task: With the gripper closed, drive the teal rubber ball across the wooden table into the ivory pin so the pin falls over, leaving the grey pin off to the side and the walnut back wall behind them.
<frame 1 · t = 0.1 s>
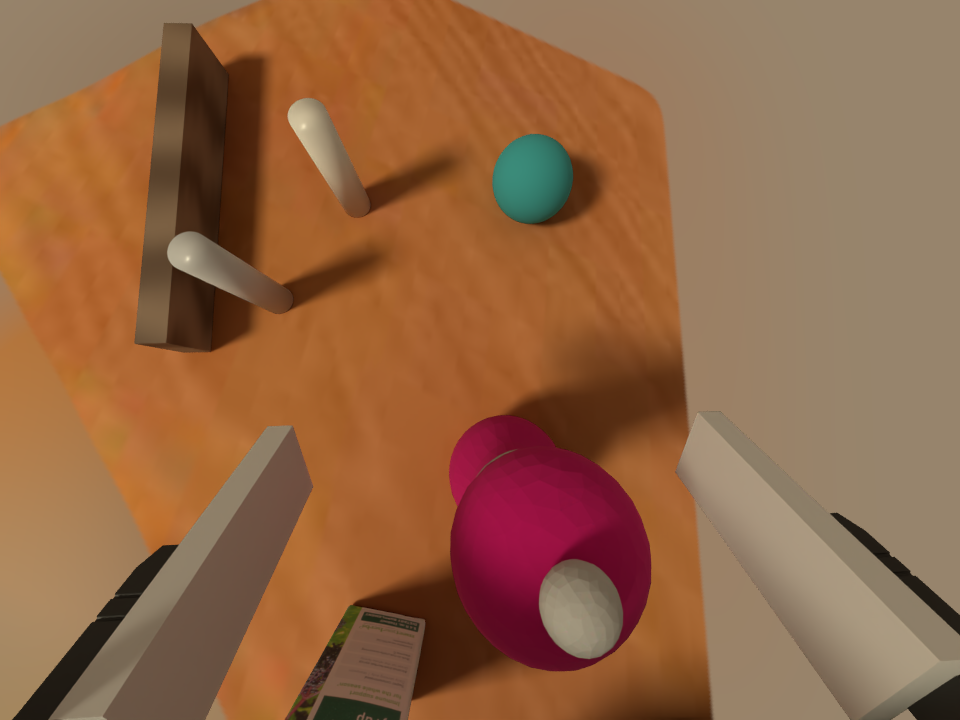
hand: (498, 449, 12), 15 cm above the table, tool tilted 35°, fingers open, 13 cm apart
grey pin: (279, 300, 27), on the table
ivory pin: (357, 204, 29), on the table
back wall: (207, 206, 28), on the table
pepper mill: (498, 460, 27), on the table
ball: (532, 181, 26), on the table
syrup box: (380, 651, 25), on the table
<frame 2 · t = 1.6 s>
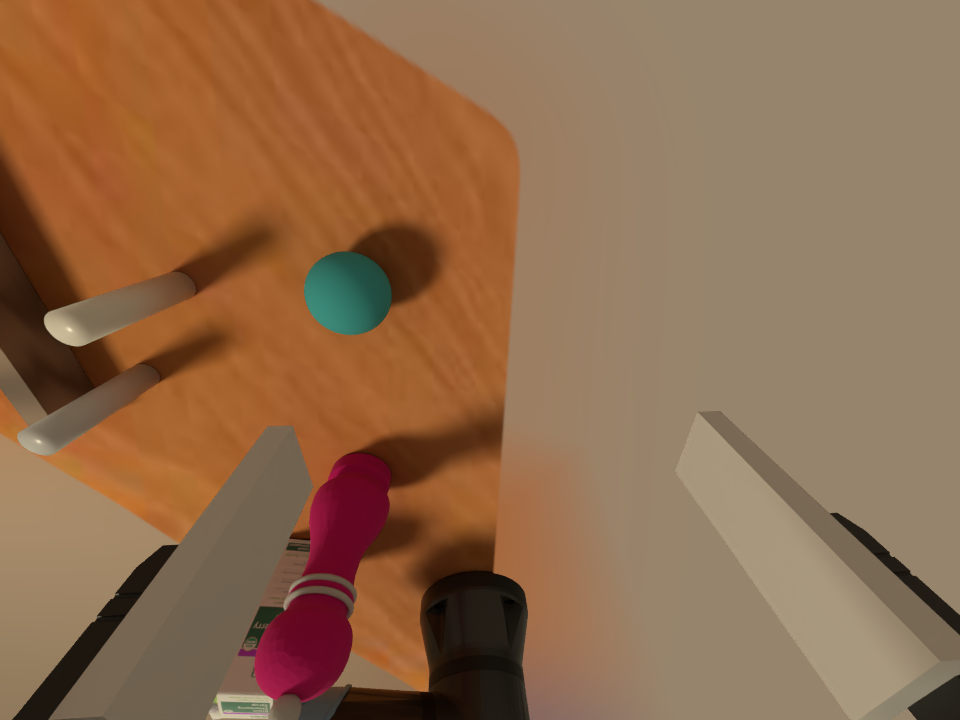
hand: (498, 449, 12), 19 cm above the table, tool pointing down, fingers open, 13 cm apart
grey pin: (146, 374, 31), on the table
ivory pin: (180, 285, 28), on the table
back wall: (19, 287, 27), on the table
pepper mill: (362, 472, 38), on the table
ball: (349, 294, 26), on the table
syrup box: (305, 551, 44), on the table
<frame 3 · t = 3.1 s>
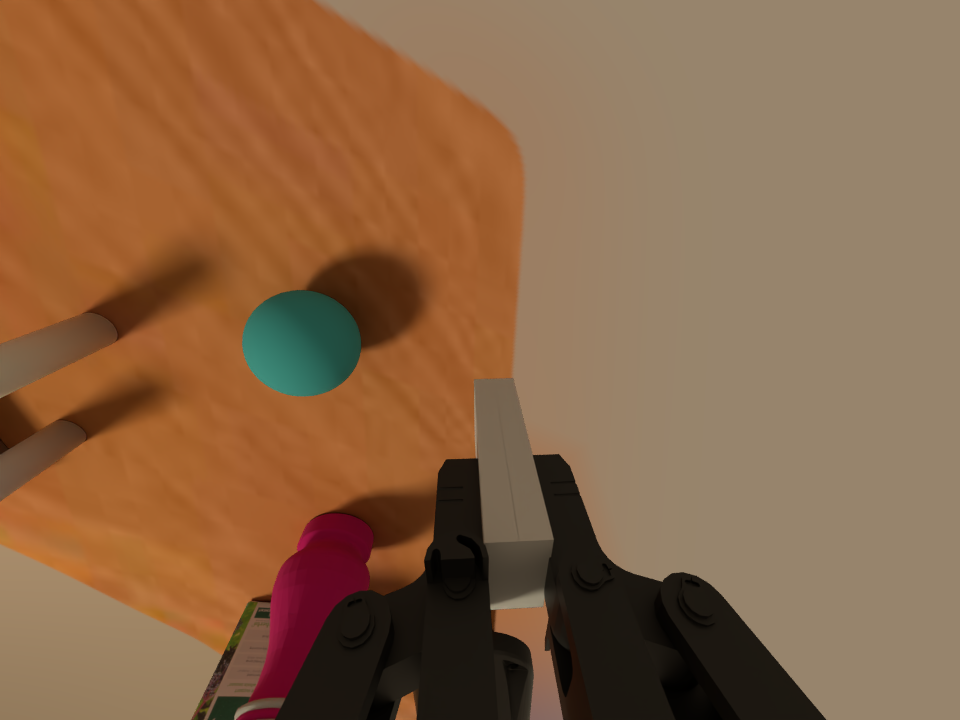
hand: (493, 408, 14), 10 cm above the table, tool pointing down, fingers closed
grey pin: (68, 432, 25), on the table
ivory pin: (97, 329, 22), on the table
pepper mill: (340, 532, 32), on the table
ball: (305, 343, 20), on the table
syrup box: (280, 613, 38), on the table
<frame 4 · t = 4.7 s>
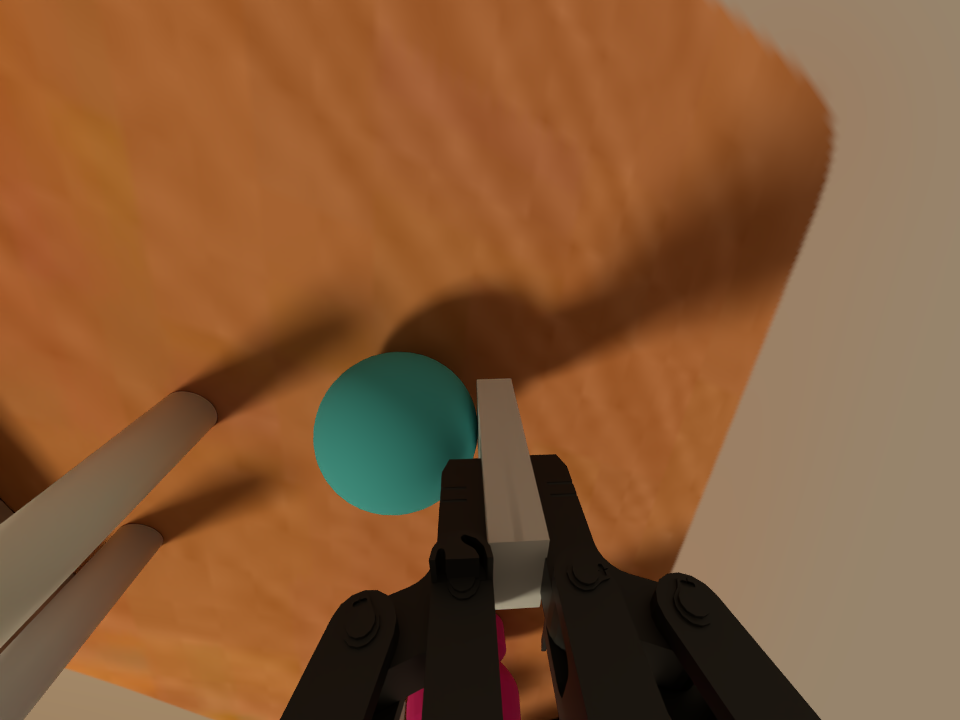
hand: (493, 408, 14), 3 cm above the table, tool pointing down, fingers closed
grey pin: (140, 537, 19), on the table
ivory pin: (190, 411, 16), on the table
pepper mill: (461, 624, 26), on the table
ball: (399, 429, 13), on the table, touching gripper
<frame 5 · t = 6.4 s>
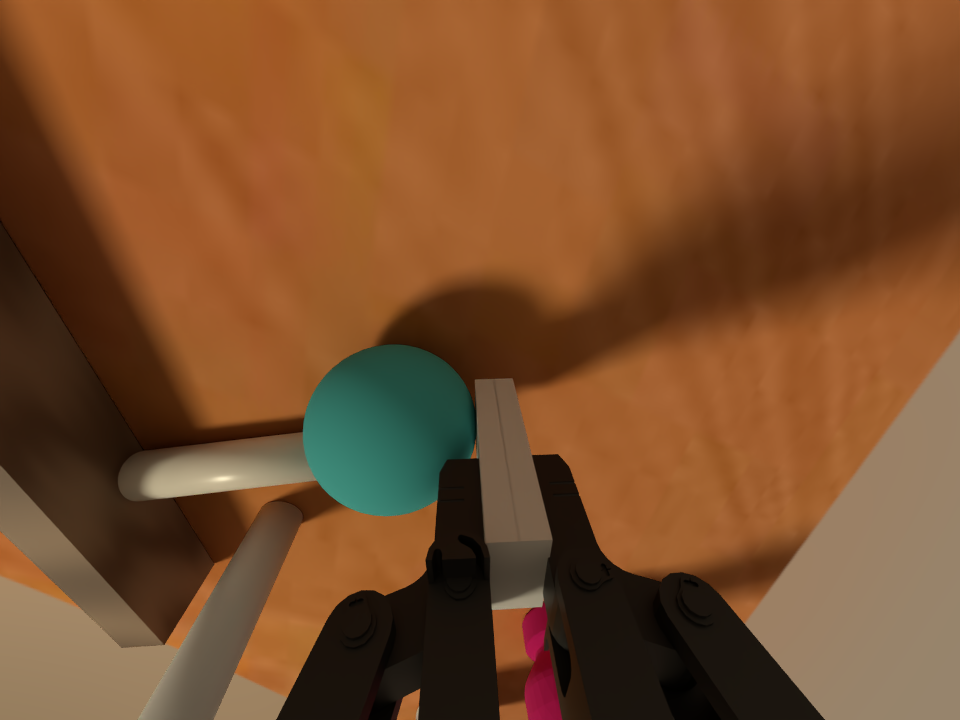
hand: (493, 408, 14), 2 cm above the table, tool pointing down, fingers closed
grey pin: (281, 515, 19), on the table
ivory pin: (339, 452, 16), point 1 cm above the table, tilted 90°
back wall: (85, 398, 15), on the table
pepper mill: (562, 615, 26), on the table
ball: (394, 426, 13), on the table, touching gripper
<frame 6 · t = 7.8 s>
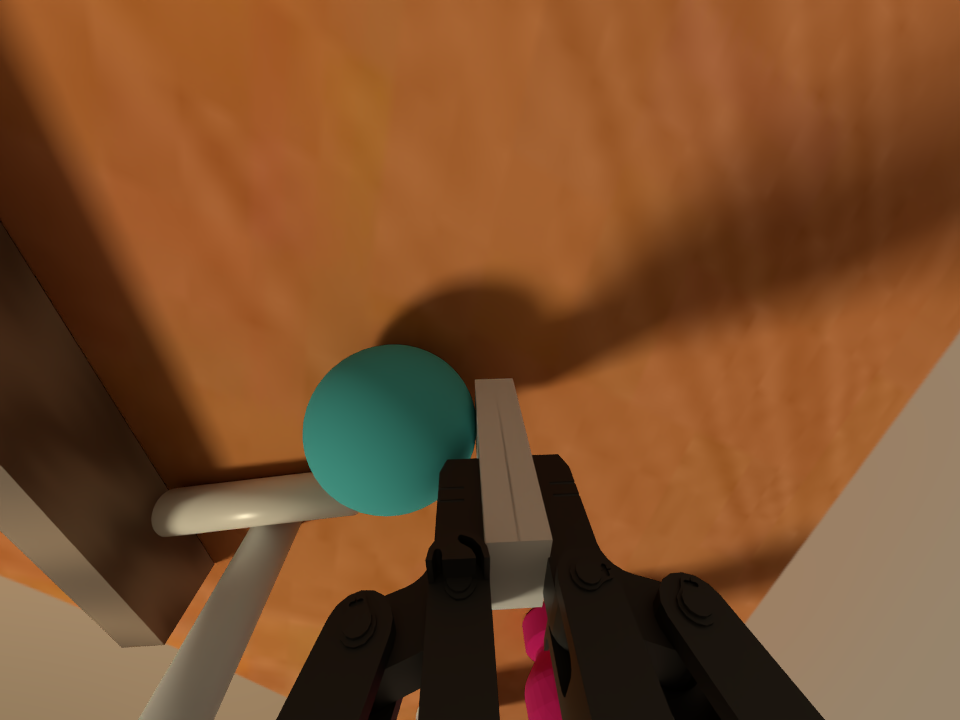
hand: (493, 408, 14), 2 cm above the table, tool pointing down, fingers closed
grey pin: (281, 515, 19), on the table
ivory pin: (355, 490, 17), point 1 cm above the table, tilted 90°
back wall: (85, 398, 15), on the table
pepper mill: (562, 615, 26), on the table
ball: (394, 426, 13), on the table, touching gripper
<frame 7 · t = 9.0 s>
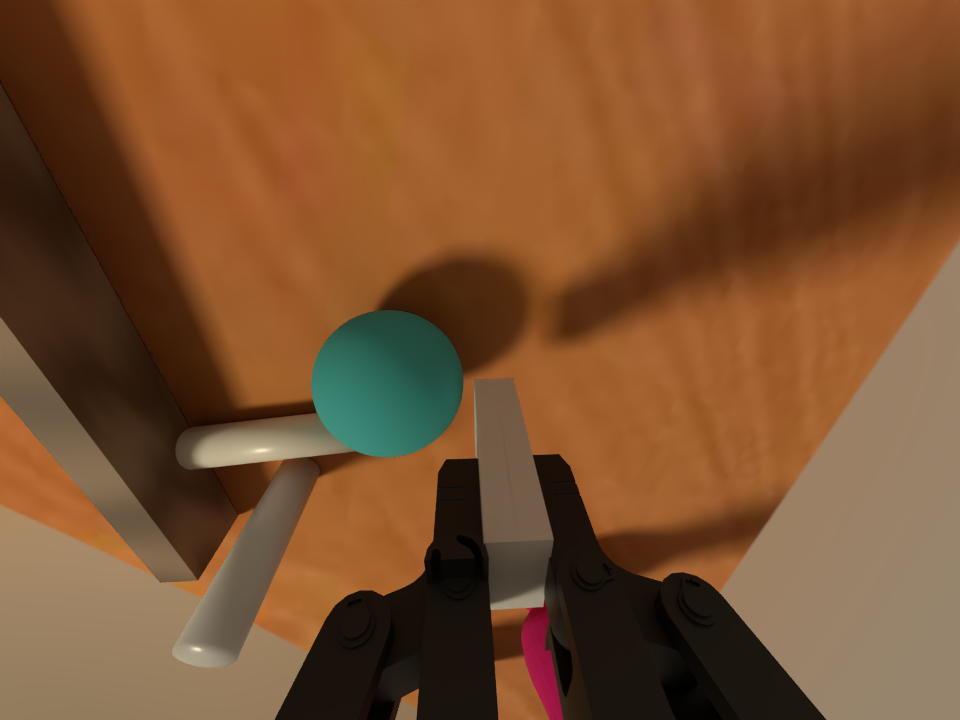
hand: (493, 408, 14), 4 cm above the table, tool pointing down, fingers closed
grey pin: (300, 469, 21), on the table
ivory pin: (363, 428, 18), point 1 cm above the table, tilted 90°
back wall: (127, 354, 16), on the table
pepper mill: (557, 571, 28), on the table
ball: (391, 382, 14), on the table
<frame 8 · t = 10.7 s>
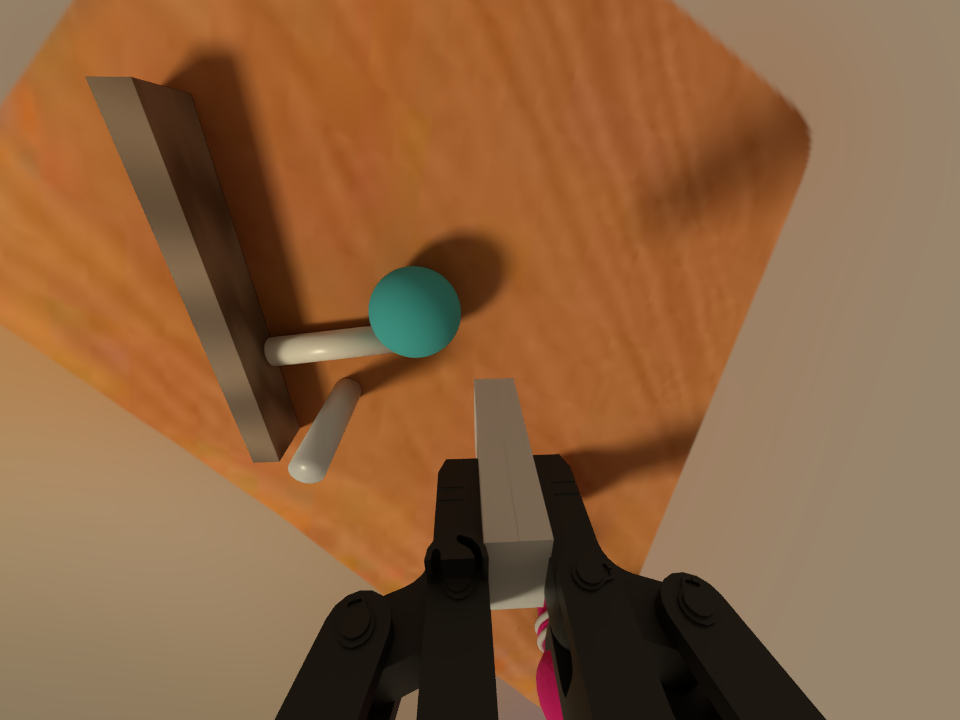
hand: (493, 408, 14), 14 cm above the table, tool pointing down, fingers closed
grey pin: (348, 389, 29), on the table
ivory pin: (391, 338, 26), point 1 cm above the table, tilted 90°
back wall: (243, 299, 25), on the table
pepper mill: (536, 486, 36), on the table
ball: (415, 312, 23), on the table
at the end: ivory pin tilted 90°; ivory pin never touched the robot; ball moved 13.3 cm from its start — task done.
